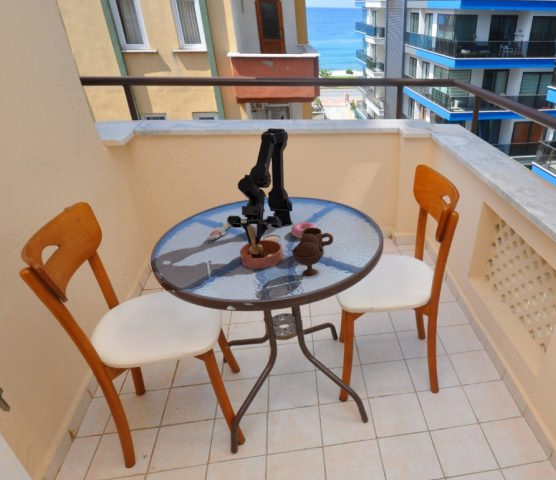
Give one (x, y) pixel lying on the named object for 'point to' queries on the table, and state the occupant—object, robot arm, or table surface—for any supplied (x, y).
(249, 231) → the dish brush
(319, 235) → the mug
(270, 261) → the terracotta bowl
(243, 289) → the table surface
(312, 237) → the ice cream bowl
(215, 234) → the paintbrush
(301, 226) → the doughnut
